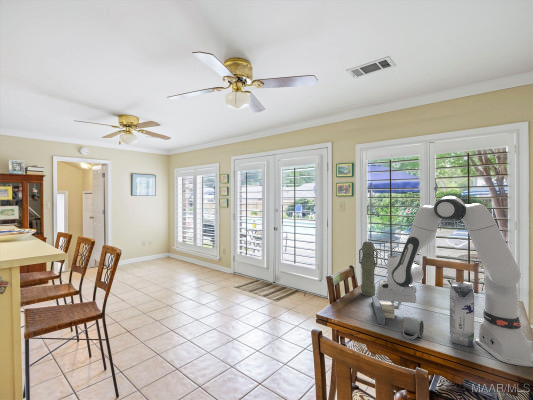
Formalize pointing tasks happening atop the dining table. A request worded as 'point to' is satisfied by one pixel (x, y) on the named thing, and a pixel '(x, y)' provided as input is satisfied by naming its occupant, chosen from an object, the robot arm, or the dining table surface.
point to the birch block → (387, 309)
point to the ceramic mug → (412, 327)
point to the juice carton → (462, 313)
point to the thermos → (368, 268)
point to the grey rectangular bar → (378, 310)
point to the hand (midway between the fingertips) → (395, 308)
